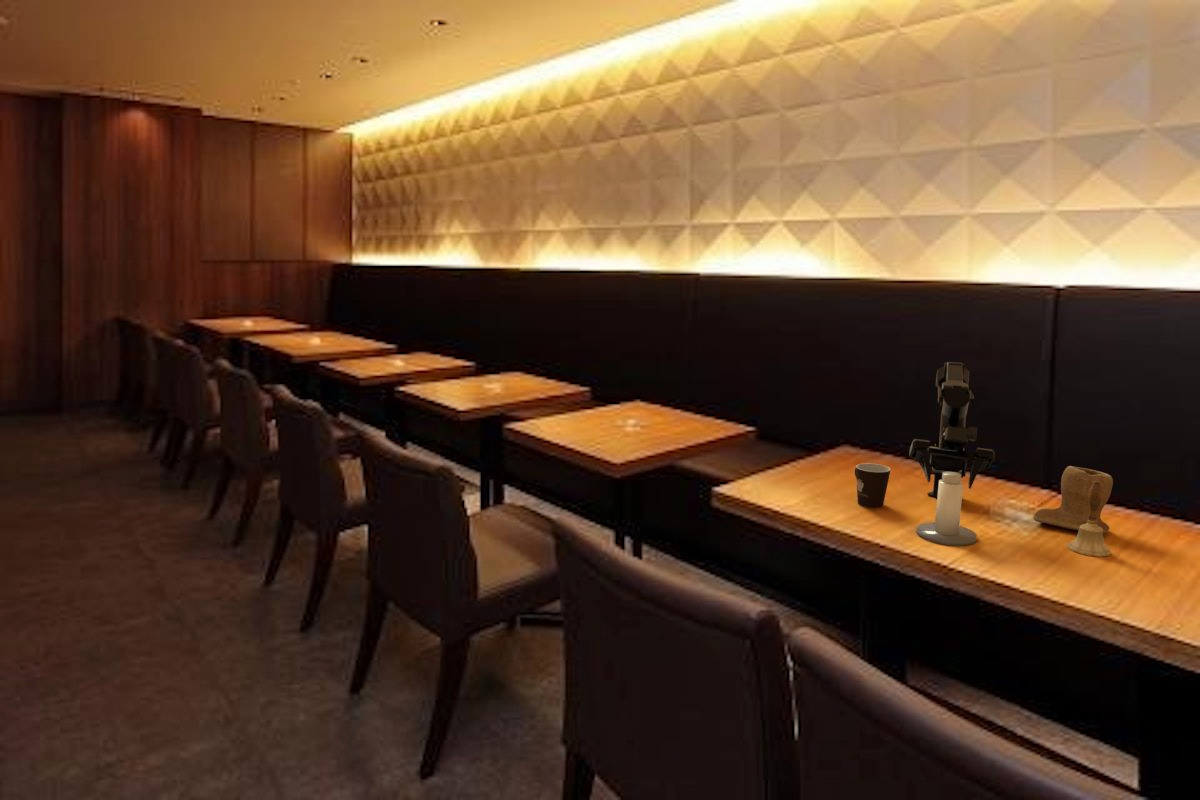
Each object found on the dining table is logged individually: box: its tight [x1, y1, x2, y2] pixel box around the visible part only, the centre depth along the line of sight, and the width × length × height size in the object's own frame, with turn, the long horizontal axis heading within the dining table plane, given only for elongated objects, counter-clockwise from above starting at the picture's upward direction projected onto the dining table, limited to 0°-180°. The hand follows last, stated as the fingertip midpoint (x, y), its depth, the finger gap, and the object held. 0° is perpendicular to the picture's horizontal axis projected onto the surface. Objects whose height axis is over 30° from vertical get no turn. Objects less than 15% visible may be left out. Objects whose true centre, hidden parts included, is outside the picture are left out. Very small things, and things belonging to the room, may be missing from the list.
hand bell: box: [1067, 481, 1112, 558], centre depth 175 cm, size 8×8×16 cm
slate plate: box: [915, 521, 978, 547], centre depth 185 cm, size 13×13×1 cm
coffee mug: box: [854, 462, 891, 509], centre depth 208 cm, size 12×9×10 cm
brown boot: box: [1033, 465, 1114, 535], centre depth 190 cm, size 15×12×15 cm
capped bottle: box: [934, 472, 964, 535], centre depth 183 cm, size 5×5×14 cm
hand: (949, 484), depth 190 cm, fingers open, 9 cm apart
